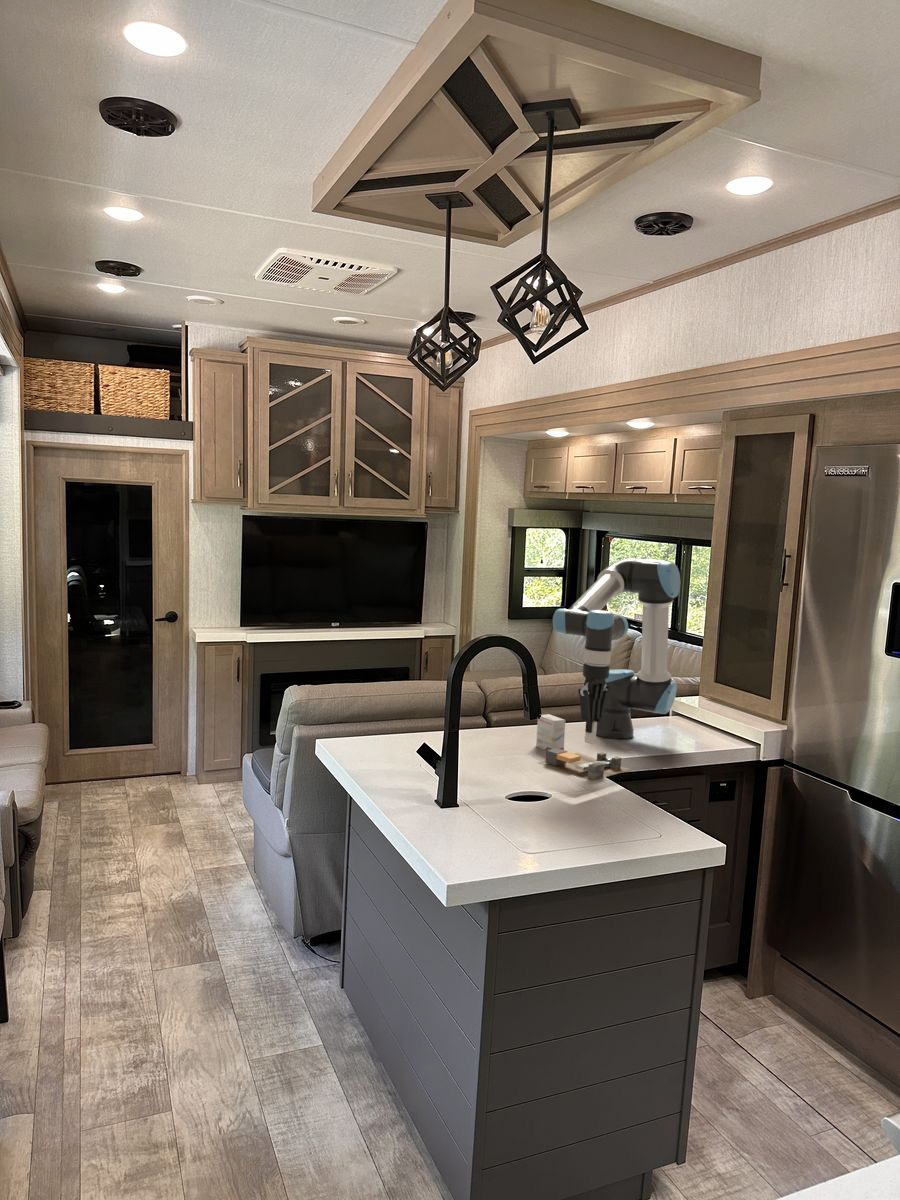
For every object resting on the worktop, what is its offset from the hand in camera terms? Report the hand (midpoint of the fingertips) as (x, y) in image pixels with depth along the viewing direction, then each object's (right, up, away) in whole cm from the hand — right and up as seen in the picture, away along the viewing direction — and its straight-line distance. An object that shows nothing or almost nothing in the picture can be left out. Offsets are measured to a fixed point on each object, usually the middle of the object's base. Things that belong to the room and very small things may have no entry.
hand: (590, 742), depth 244 cm
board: (-1, -10, +6) cm, 11 cm away
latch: (-7, -7, +4) cm, 11 cm away
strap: (+2, -8, +3) cm, 9 cm away
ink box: (-9, -8, +23) cm, 26 cm away
